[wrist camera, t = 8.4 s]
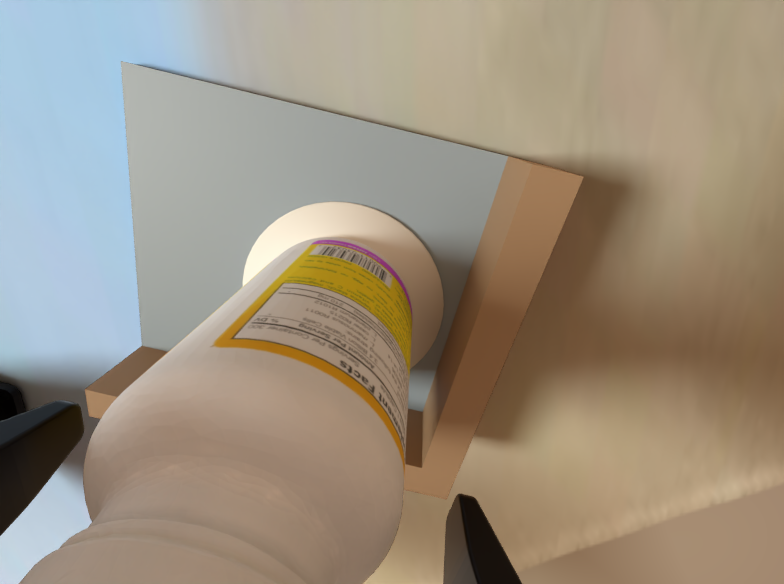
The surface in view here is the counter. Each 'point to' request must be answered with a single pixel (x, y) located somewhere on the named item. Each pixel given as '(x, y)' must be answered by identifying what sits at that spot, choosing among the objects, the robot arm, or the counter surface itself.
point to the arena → (336, 219)
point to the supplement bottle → (258, 437)
